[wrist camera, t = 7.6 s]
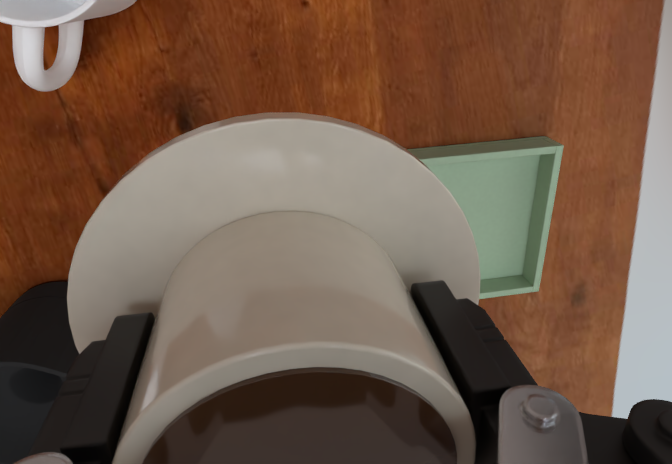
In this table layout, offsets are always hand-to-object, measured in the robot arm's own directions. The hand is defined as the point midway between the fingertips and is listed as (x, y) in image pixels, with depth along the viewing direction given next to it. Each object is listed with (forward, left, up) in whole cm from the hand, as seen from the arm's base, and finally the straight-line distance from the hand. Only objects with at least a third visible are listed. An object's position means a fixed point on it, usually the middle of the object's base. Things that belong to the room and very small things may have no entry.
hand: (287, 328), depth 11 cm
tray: (-13, +11, -26) cm, 31 cm away
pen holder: (+18, +17, -26) cm, 35 cm away
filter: (0, 0, -1) cm, 1 cm away
